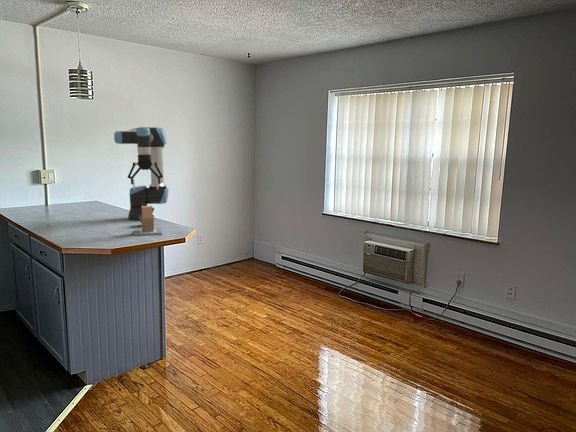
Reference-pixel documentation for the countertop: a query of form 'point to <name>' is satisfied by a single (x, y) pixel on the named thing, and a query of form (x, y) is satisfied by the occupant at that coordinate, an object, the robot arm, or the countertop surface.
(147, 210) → the terracotta block
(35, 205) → the countertop surface
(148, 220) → the walnut block
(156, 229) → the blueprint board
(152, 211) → the mortar and pestle
